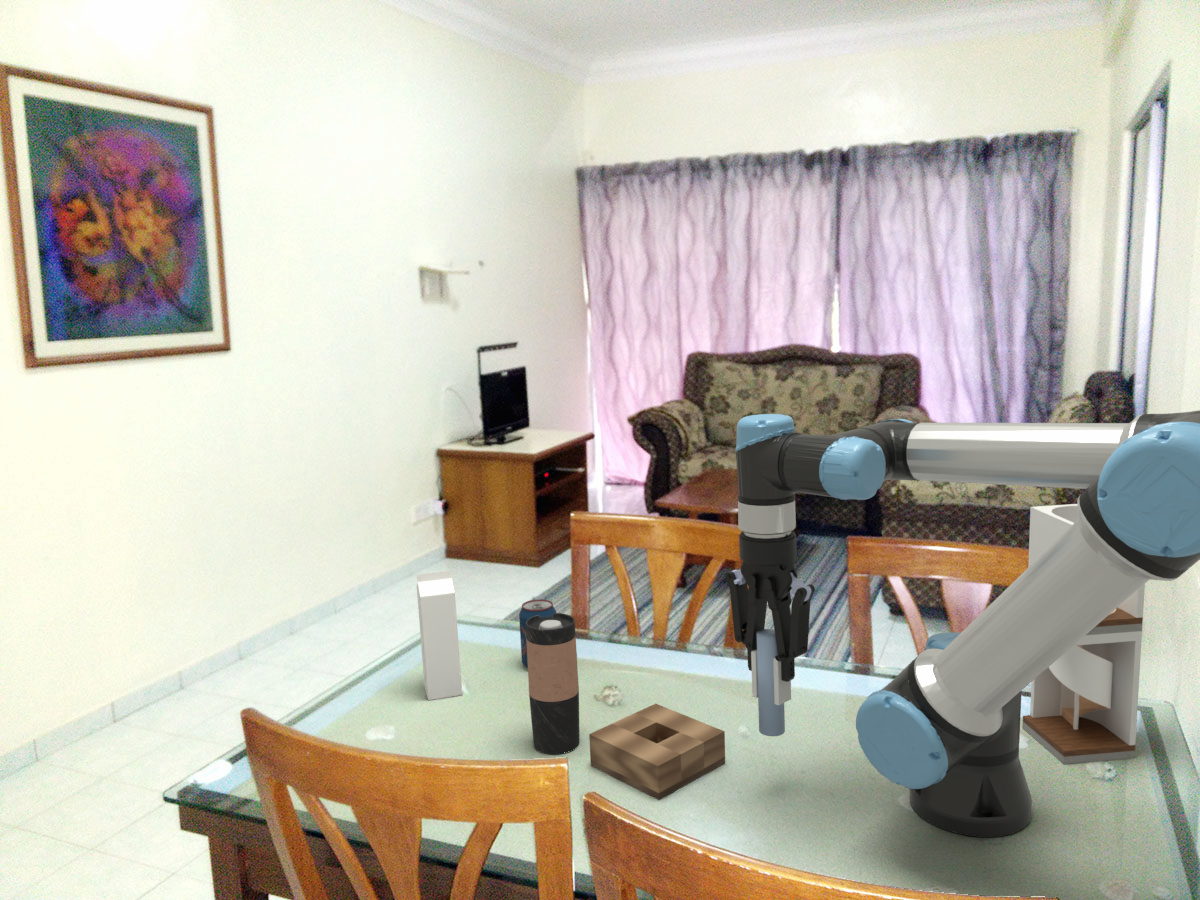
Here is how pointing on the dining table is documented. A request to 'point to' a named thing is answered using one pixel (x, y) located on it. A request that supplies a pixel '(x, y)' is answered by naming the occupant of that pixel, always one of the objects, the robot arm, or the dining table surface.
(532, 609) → the soda can
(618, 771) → the bore block
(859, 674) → the dining table surface
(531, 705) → the travel mug
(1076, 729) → the spiral staircase model
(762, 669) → the pin
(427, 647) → the milk
